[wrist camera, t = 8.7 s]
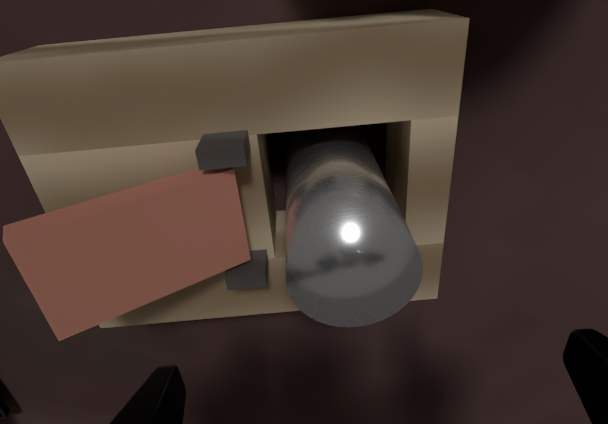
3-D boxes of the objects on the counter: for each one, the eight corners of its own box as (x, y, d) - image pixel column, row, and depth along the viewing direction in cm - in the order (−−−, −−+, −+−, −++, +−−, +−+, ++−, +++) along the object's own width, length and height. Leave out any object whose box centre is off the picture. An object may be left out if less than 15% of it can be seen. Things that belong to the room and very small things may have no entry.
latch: (223, 159, 15) (233, 168, 14) (240, 248, 17) (250, 259, 16) (3, 225, 12) (2, 241, 11) (56, 322, 14) (58, 341, 13)
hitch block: (414, 248, 23) (448, 323, 18) (128, 274, 23) (86, 355, 18) (431, 8, 16) (491, 23, 12) (39, 45, 17) (-62, 75, 12)
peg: (368, 189, 21) (418, 321, 13) (290, 197, 21) (292, 332, 13) (368, 112, 19) (428, 213, 11) (281, 120, 19) (278, 226, 11)
